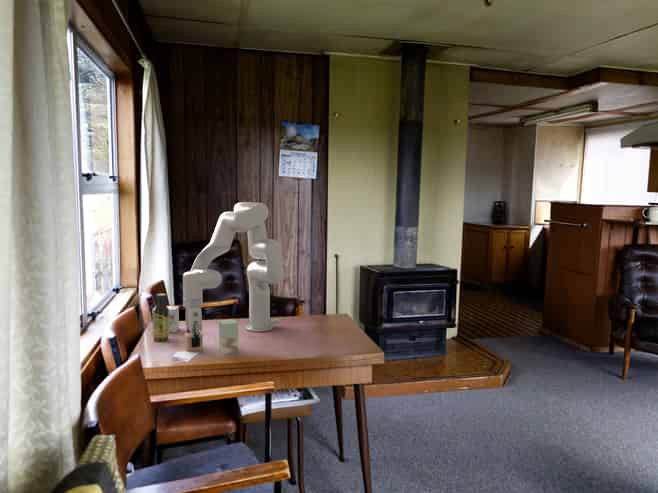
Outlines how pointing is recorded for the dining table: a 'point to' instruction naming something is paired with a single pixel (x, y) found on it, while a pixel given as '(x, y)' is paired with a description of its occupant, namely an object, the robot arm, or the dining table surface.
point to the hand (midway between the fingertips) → (193, 343)
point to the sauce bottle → (161, 319)
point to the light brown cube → (189, 342)
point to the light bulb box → (170, 318)
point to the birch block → (228, 345)
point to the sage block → (228, 329)
